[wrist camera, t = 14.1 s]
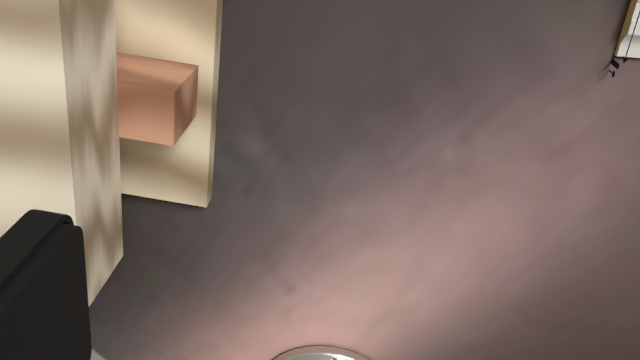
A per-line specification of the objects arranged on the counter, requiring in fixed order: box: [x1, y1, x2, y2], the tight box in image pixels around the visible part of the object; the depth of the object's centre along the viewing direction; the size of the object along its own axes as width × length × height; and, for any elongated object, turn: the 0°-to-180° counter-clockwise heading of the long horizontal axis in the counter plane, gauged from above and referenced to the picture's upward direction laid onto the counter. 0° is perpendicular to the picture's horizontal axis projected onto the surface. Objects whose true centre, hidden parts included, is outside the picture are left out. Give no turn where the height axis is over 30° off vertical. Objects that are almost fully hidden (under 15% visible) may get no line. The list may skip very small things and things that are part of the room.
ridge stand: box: [115, 0, 223, 207], centre depth 37 cm, size 18×13×6 cm
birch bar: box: [0, 0, 123, 306], centre depth 32 cm, size 22×4×6 cm, turn 172°
